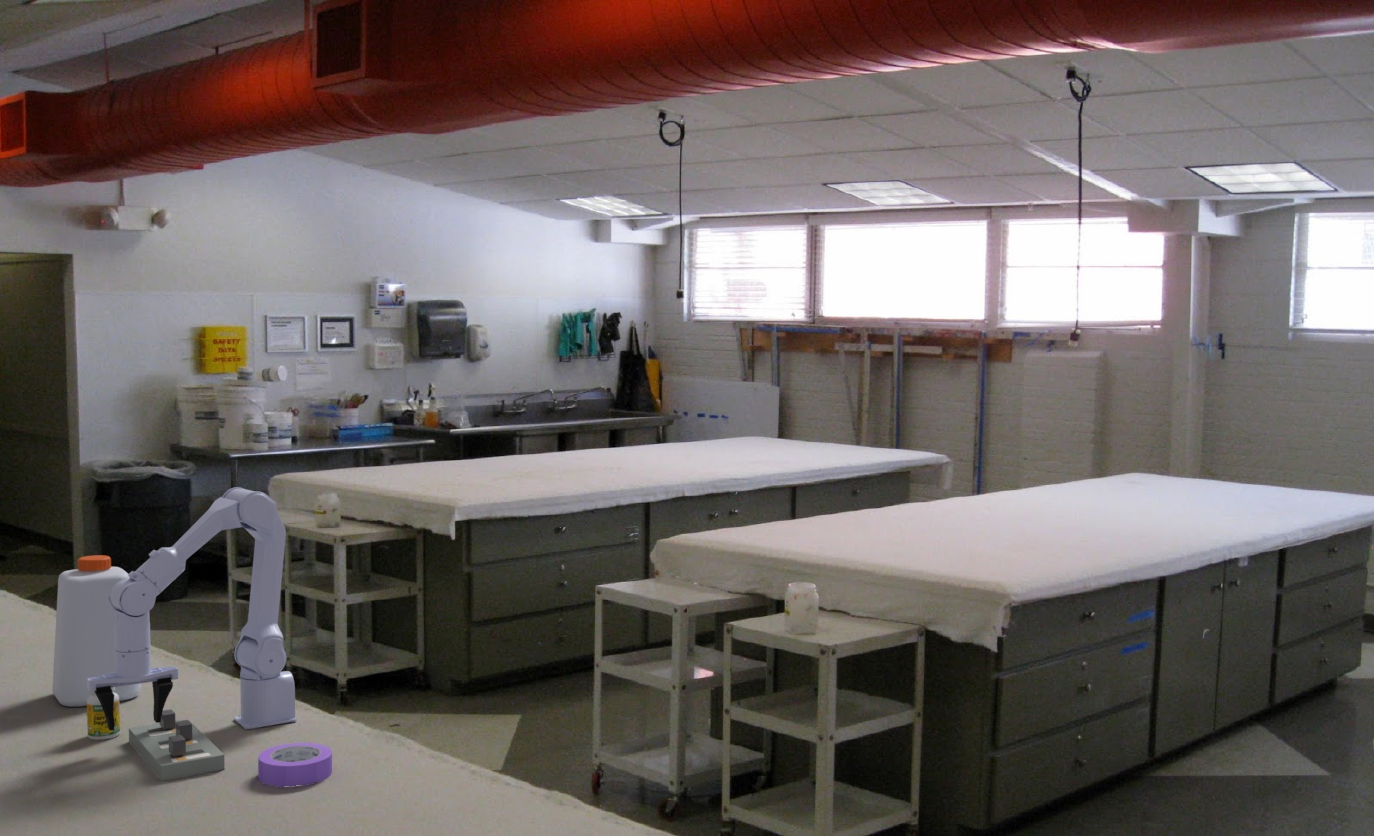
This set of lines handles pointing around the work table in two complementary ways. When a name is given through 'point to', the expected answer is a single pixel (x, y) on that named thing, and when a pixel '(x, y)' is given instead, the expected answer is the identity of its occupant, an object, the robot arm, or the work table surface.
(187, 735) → the slider middle
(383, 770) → the work table surface
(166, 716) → the slider back
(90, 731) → the supplement bottle
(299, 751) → the masking tape
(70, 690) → the plastic bottle
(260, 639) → the robot arm
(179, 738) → the block
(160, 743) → the switch panel
